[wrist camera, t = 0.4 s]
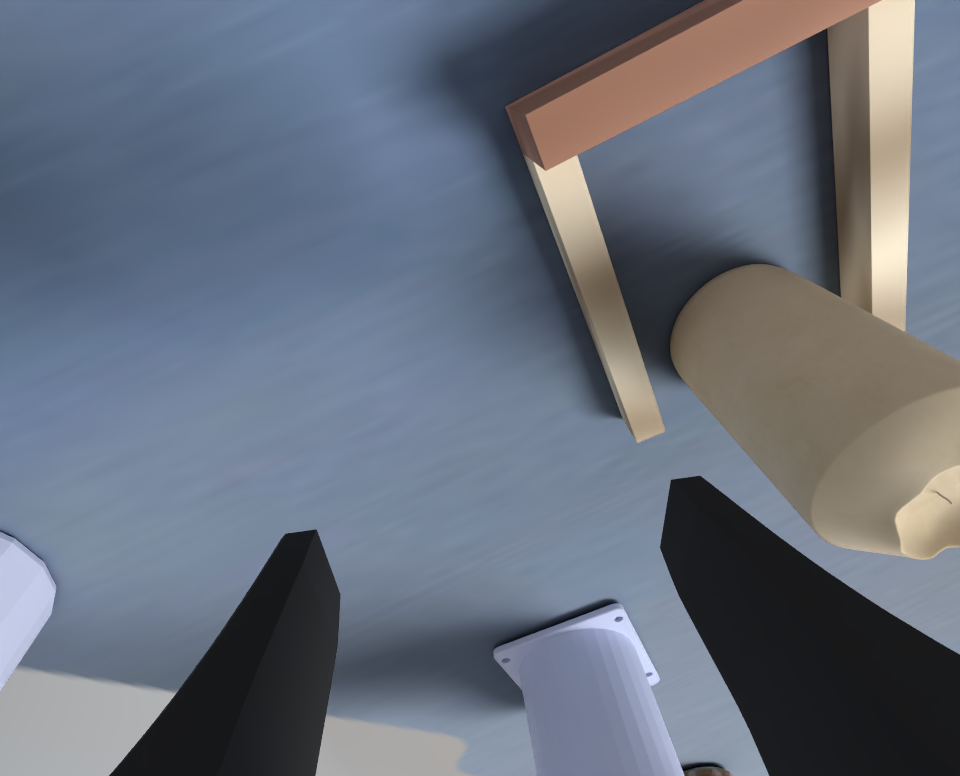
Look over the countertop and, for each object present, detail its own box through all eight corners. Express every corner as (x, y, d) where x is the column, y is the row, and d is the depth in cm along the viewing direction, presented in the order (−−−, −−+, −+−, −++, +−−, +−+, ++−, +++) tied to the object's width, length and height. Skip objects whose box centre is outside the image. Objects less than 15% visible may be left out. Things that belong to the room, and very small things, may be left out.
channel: (872, 314, 20) (942, 351, 18) (623, 420, 22) (653, 469, 19) (867, -87, 13) (981, -126, 11) (505, 106, 15) (525, 114, 12)
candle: (758, 229, 18) (1065, 373, 10) (829, 319, 20) (1126, 497, 12) (639, 340, 20) (808, 542, 11) (717, 410, 22) (904, 620, 14)
